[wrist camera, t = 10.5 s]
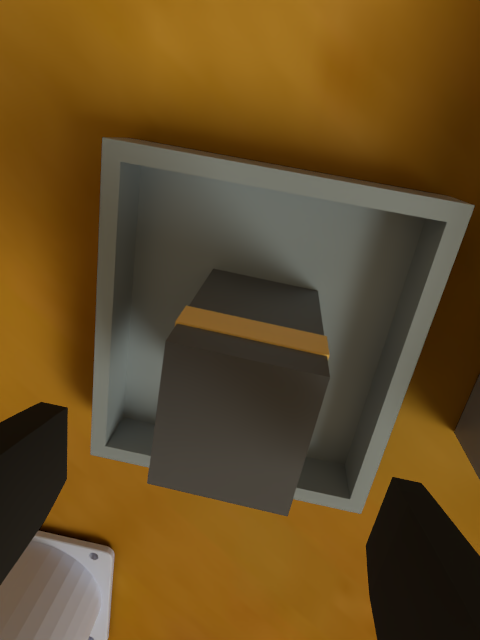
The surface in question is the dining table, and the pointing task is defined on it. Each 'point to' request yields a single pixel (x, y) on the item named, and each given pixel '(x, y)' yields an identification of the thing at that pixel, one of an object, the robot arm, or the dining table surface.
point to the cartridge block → (240, 392)
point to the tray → (274, 265)
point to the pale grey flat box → (471, 428)
